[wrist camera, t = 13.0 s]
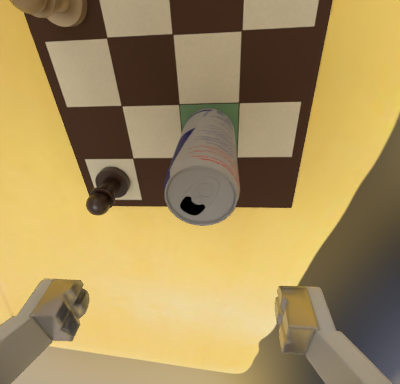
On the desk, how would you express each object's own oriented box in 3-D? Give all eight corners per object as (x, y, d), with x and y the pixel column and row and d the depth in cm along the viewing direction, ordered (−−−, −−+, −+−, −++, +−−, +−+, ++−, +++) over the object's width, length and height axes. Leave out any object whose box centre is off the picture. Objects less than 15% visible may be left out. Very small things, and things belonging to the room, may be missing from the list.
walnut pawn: (94, 166, 30) (68, 195, 25) (126, 166, 30) (107, 195, 25) (103, 193, 32) (81, 225, 27) (133, 193, 32) (116, 225, 27)
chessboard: (-3, -64, 19) (-4, -65, 19) (351, -98, 17) (351, -98, 17) (93, 205, 34) (92, 205, 34) (291, 207, 32) (291, 207, 31)
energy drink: (175, 138, 27) (147, 205, 18) (201, 96, 25) (186, 146, 15) (215, 163, 29) (211, 238, 19) (244, 126, 26) (257, 190, 16)
